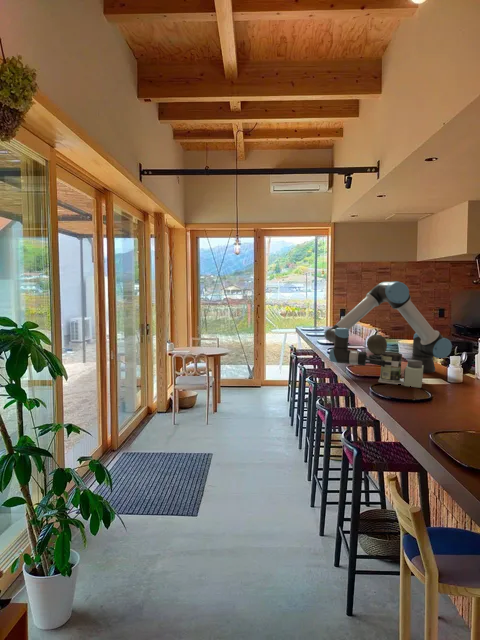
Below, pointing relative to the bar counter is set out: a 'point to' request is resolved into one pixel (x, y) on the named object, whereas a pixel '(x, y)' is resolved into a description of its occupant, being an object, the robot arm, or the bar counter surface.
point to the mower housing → (411, 375)
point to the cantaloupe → (377, 344)
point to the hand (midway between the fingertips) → (399, 362)
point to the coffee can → (391, 367)
